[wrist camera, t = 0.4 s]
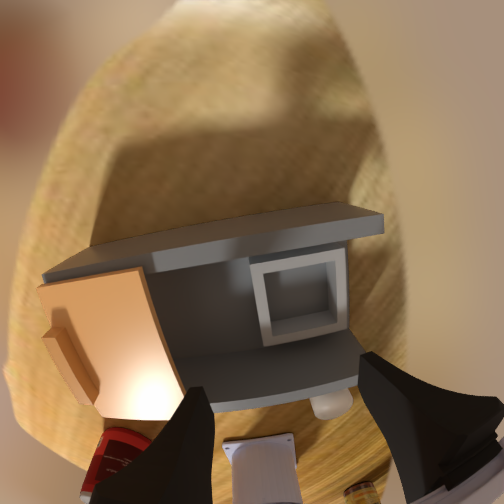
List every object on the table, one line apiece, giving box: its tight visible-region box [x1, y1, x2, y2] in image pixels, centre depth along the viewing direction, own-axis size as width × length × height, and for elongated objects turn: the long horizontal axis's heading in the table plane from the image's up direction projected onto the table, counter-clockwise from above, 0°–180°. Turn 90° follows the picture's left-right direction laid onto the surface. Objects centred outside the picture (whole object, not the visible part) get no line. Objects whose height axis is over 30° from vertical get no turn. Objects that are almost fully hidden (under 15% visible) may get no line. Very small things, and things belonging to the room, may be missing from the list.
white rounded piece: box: [309, 388, 353, 420], centre depth 20 cm, size 3×3×5 cm
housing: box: [42, 202, 384, 413], centre depth 17 cm, size 11×19×6 cm, turn 99°
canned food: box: [80, 427, 152, 504], centre depth 19 cm, size 8×8×11 cm
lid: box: [36, 266, 186, 420], centre depth 12 cm, size 10×7×2 cm
